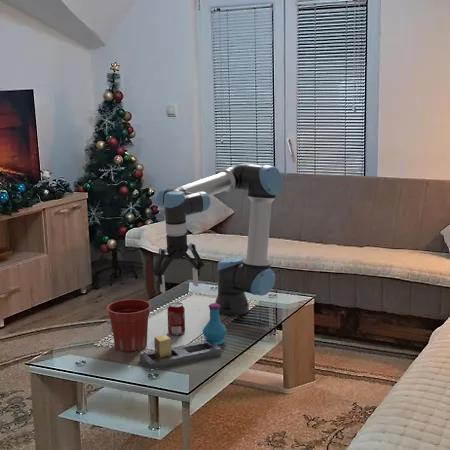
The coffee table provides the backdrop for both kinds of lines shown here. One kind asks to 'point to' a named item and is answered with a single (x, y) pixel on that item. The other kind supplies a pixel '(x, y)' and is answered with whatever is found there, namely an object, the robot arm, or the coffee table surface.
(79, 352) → the coffee table surface
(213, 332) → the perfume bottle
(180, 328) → the soda can
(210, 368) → the coffee table surface
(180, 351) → the grey slotted tray
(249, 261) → the robot arm
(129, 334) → the flower pot
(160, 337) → the yellow wooden block
